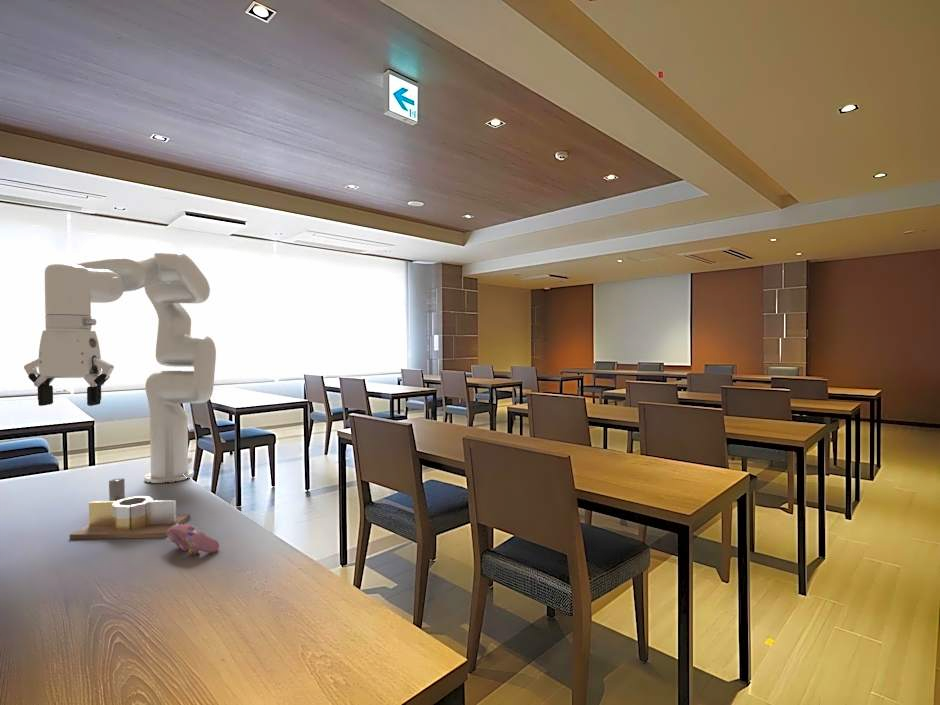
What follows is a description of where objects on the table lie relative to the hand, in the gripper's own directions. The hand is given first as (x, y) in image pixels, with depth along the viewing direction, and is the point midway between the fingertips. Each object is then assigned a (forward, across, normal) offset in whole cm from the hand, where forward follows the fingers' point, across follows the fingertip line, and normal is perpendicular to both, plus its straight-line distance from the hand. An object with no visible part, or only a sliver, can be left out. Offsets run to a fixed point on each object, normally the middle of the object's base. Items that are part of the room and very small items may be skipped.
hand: (70, 404), depth 107 cm
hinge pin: (+28, -2, -12) cm, 30 cm away
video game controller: (+28, -29, +10) cm, 42 cm away
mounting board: (+28, -11, -2) cm, 30 cm away
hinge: (+28, -11, -2) cm, 30 cm away
